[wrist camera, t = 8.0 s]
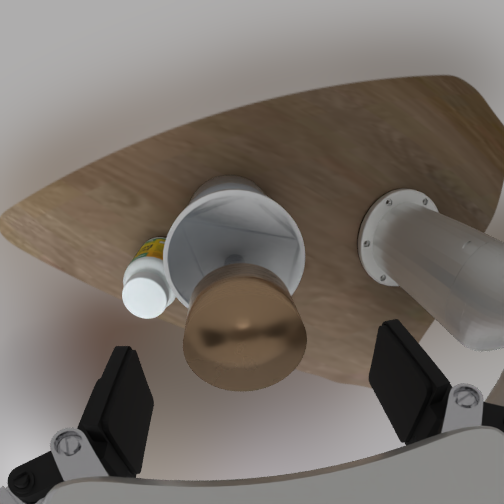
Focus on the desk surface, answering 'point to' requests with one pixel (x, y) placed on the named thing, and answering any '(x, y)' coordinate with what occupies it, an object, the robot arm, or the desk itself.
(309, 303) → the desk surface
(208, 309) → the plunger
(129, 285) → the supplement bottle
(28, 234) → the desk surface
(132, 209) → the desk surface
